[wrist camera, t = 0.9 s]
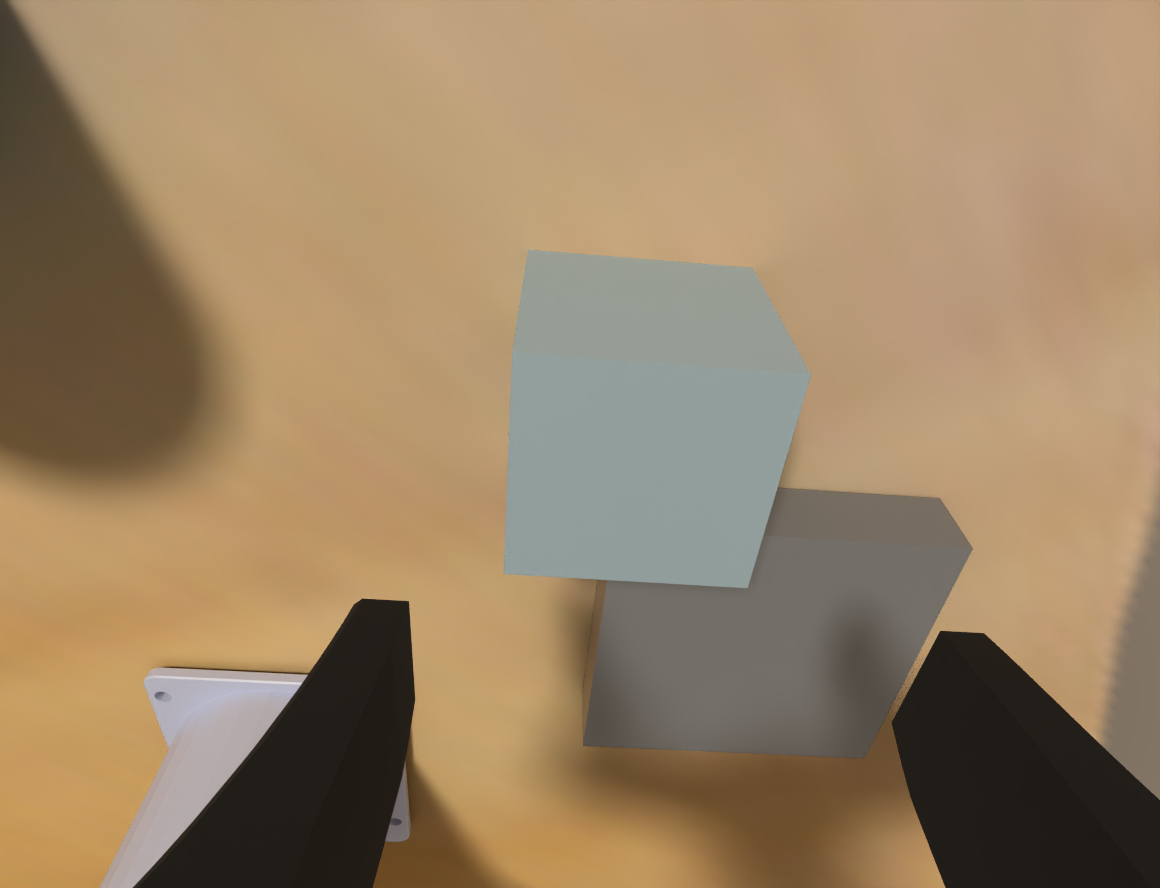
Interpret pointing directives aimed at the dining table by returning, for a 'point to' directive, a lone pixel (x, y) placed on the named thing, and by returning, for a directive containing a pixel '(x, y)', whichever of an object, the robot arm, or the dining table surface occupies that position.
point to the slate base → (777, 634)
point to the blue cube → (646, 420)
